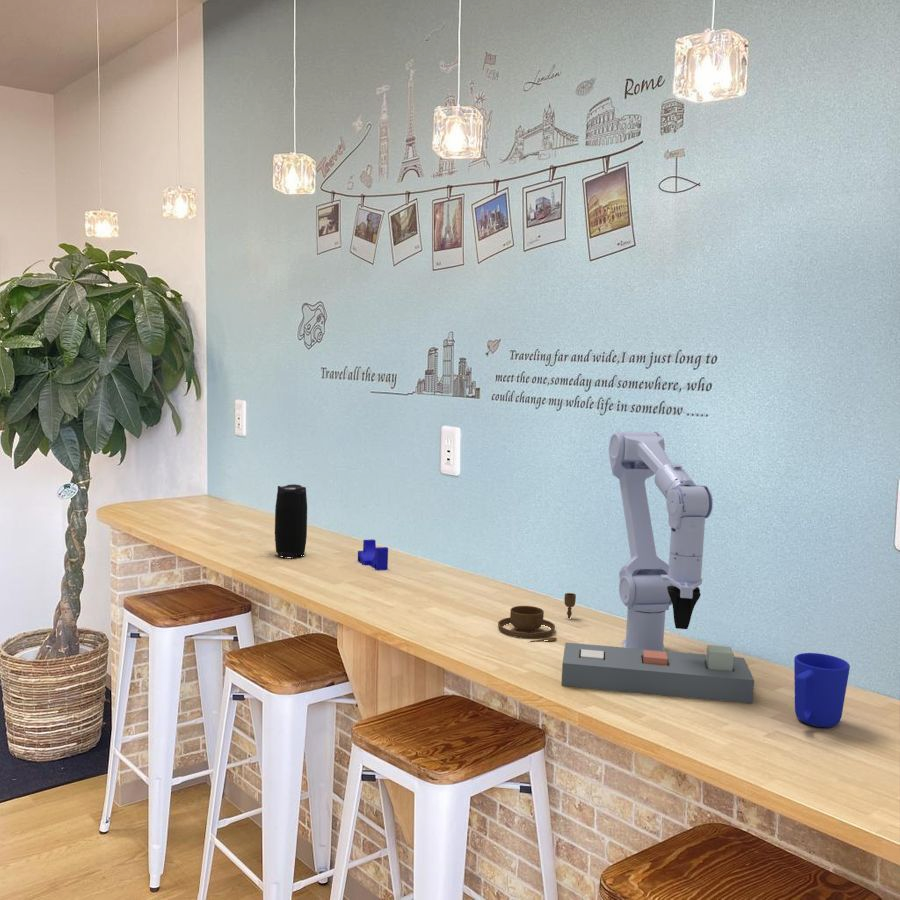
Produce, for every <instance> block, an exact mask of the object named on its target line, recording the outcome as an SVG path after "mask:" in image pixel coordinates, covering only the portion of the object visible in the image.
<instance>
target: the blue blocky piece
mask: <svg viewBox="0 0 900 900" xmlns="http://www.w3.org/2000/svg"><path fill="white" fill-rule="evenodd" d="M362 543H363V544H362V545H363V548H362V550H357V561H358V563H360V564H361V563H362V564H361V565H363V566H364V565H367V566H369V567H371V566H372V567H371V568H373V569H374V568H375V569H374V570H375V571H387V570H389V569H388V567H389V547H387V546H383V547H382V546H381V547H379V546H377V544H376V543H377V542H376V539H373V538H372V539H363V542H362ZM376 546H377V547H376Z"/></svg>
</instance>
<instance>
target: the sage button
mask: <svg viewBox="0 0 900 900" xmlns="http://www.w3.org/2000/svg"><path fill="white" fill-rule="evenodd" d="M733 657H735V656H734V651H733V649H732V647H731V646H726V645H725V646H724V645H723V646H722V645H713V644H707V645H706V668H707V669H712V670H723V671H733Z"/></svg>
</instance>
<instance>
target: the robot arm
mask: <svg viewBox="0 0 900 900" xmlns="http://www.w3.org/2000/svg"><path fill="white" fill-rule="evenodd" d="M608 444H609V445H608V455H609V462H610V469H611V474H612V476H614V477H615V478H617V479H619V487H620V493H621V500H622V507H623V513H624V514H623V515H624V520H625V527H626V533H627V539H628V540H627V541H628V546H629V553H630V560H629V561H628V562H626V563H625V564H624V565H623V566H622V567H621V568H620V570H619V585H618V592H619V598H620V600H621V602H622V603H623V605H625V607H627V610H626V611H627V614H626V615H627V616H626V617H627V618H626V629H625V631H626V634H625V639H622V647H624V648H636V649H648V650H659V651H666V650H665V645H664V642H665V641H664V639H665V621H666V611H669V609H670V606H672V612H673V613H672V614H673V622H674V627H675V629H679V630H688V628H689V626H690V623H691V619H692V616H693V612H694V609H695V606H696V604H697V603H698V601H699V600H700V597H701V589H700V587H699V586H701V585H702V584H703V578H702V574H703V573H702V571H703V556H704V542H705V541H704V539H705V527H706V525H705V524H706V519H708V518H709V517H710V515H711V514H712V511H713V508H714V507H713V505H714V503H713V501H714V500H713V499H714V498H713V495H712V492H711V490H710V488H709V487H708V485H704V484H703V485H702V484H701V485H700V484H696V483H695V482H694V480H693V479H692V478H691V477H690V476H689V474H688V473H687V472H686V471H685V469H684V468H683V467H682V465H681V463H675V462H674V463H673V462H671V460H670V459H669V457H668V455H667V454H666V451H665V447H666V446H665V438H664V437H663V435H662V434H661V433H660V432H659V431H653V432H649V431H648V432H647V431H646V432H643V431H642V432H641V431H621V430H615V431H614V432H613V434H612V435H611V437H610V440H609V443H608ZM653 476H654V483H655V486H656V487H657V489H658V490H659V491H660V492H661V493H662V495H663V497H664V498H665V499H666V503H665V504H666V510H667V514H668V521H667V522H668V526H669V527H670V538H669V539H670V540H669V542H670V543H669V554H668V555H669V556H668V557H669V558H668V563H666V561H664V560H662V559H661V558H660V557H659V556H658V555H657V550H656V544H655V538H654V531H653V527H652V520H651V513H650V507H649V501H648V495H647V490H646V489H647V488H646V481H647V479H649V478H651V477H653Z"/></svg>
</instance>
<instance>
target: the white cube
mask: <svg viewBox="0 0 900 900" xmlns="http://www.w3.org/2000/svg"><path fill="white" fill-rule="evenodd" d="M603 657H604V651H595V650H584V649H581V658H587V659H599V660H603Z"/></svg>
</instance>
